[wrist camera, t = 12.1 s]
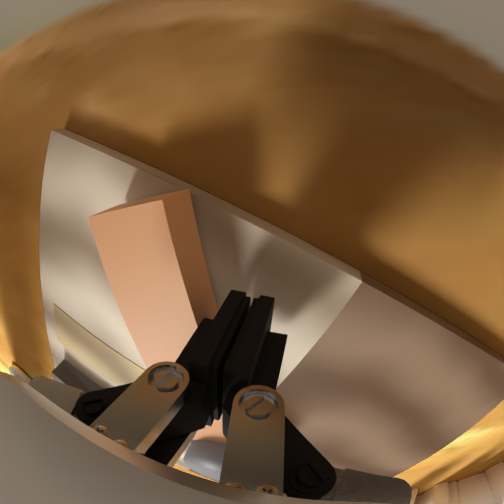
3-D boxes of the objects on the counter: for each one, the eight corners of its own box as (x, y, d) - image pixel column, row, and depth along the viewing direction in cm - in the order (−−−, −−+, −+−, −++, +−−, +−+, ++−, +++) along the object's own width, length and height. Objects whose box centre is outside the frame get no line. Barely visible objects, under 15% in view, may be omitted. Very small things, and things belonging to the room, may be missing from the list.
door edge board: (318, 499, 22) (315, 518, 20) (65, 386, 23) (52, 401, 21) (520, 368, 11) (534, 394, 8) (63, 128, 11) (23, 133, 9)
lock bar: (270, 452, 16) (261, 487, 13) (209, 444, 17) (196, 476, 14) (203, 186, 10) (158, 205, 7) (109, 206, 11) (58, 229, 8)
